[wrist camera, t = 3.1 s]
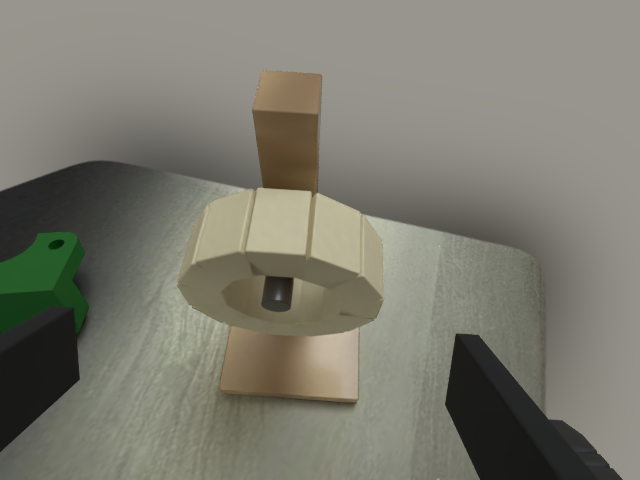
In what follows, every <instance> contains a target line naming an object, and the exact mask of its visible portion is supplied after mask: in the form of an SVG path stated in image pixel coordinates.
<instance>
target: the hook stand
mask: <svg viewBox="0 0 640 480" xmlns="http://www.w3.org/2000/svg"><path fill="white" fill-rule="evenodd" d="M321 94H322V75H321V74H312V73H297V72H282V71H267V70H263V71H262V72H261V76H260V80H259V84H258V88H257V92H256V97H255V101H254V105H253V110H252V111H253V119H254V126H255V133H256V139H257V147H258V154H259V161H260V168H261V175H262V182H263V188H270V189H284V190H299V191H310V192H311V193H312V197H313V196H314V195H315V194H316V193H318V192H317V191H318V169H319V144H320V143H319V142H320V119H321ZM293 285H294V278H291V277H277V276H265V282H264V288H263V295H262V301H261V306H262V307H263V308H264V309H266V310H269V311H273V312H285V311H288V310H290V308H291V303H292V294H293ZM219 390H220V391H221V393H228V394H241V395H255V396H269V397H282V398H296V399H309V400H323V401H336V402H350V403H357V401H358V399H359V327H358V328H356V329H354V330H351V331H349V332H347V331H345V333H338V334H329V335H321V336H312V337H309V336H307V335H306V336H305V337H300V336H286V335H272V334H266V331H265V332H263V333H259V332H255V331H251V330H247V329H243V328H239V327H235V326H231V328H230V333H229V339H228V344H227V349H226V354H225V359H224V364H223V370H222V375H221V380H220V385H219Z"/></svg>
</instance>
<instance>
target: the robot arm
mask: <svg viewBox="0 0 640 480" xmlns="http://www.w3.org/2000/svg"><path fill="white" fill-rule="evenodd" d="M79 380H80V376H79V363H78V350H77V337H76V324H75V311H74V307H60V306H51V307H49V308H47V309H46V310H44V311H42V312H40V313H38V314H37V315H35V316H33V317H31V318H29V319H28V320H26V321H24V322H22V323H20V324H19V325H17V326H15V327H13V328H11V329H10V330H8V331H6V332H4V333H2V334H1V335H0V452H1V451H2V450H3V449H4V448H5V447H6V446H7V445H8V444H10V443H11V442H12V441H13V440H14V439H15V438H16V437H17V436H18V435H19V434H21V433H22V432H23V431H24V430H25V429H26V428H27V427H28V426H29V425H30V424H31V423H33V422H34V421H35V420H36V419H37V418H38V417H39V416H40V415H41V414H42V413H43V412H45V411H46V410H47V409H48V408H49V407H50V406H51V405H52V404H53V403H54V402H56V401H57V400H58V399H59V398H60V397H61V396H62V395H63V394H64V393H65V392H66V391H68V390H69V389H70V388H71V387H72V386H73V385H74V384H75V383H76V382H77V381H79ZM445 405H446V408H447V410H448V412H449V414H450V416H451V418H452V420H453V422H454V425H455V427H456V429H457V431H458V433H459V435H460V437H461V440H462V442H463V444H464V446H465V448H466V450H467V452H468V455H469V457H470V459H471V461H472V463H473V465H474V467H475V470H476V472H477V474H478V476H479V478H480V480H622V478H621V477H620V476H619V475H618V474H617V473H616V472H615V470H614V469H612V468H610V466H609V464H608V463H607V462H606V461H605V459H604V458H603V457H602V456H601V455H600V454H597V451H596V449H594V447H593V446H592V445H591V444H590V443H589V442H588V441H587V440H586V438H585V437H584V436H583V435H582V434H580V433H579V432H578V431H576V430H575V429H573V428H572V427H570V426H569V425H568V424H566V423H565V422H563V421H562V420H548V419H547V417H546V416H545V415H544V414H543V412H542V411H541V410H540V409H539V408H538V406H537V405H536V404H535V403H534V402H533V400H532V399H531V398H530V397H529V396H528V394H527V393H526V392H525V391H524V390H523V388H522V387H521V386H520V385H519V384H518V382H517V381H516V380H515V379H514V377H513V376H512V375H511V374H510V373H509V371H508V370H507V369H506V368H505V367H504V365H503V364H502V363H501V362H500V361H499V359H498V358H497V357H496V356H495V355H494V353H493V352H492V351H491V350H490V349H489V347H488V346H487V345H486V344H485V342H484V341H483V340H482V339H481V338H480V336H479V335H471V334H456V336H455V343H454V349H453V356H452V363H451V369H450V376H449V382H448V389H447V396H446V402H445Z"/></svg>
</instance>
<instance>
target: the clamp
mask: <svg viewBox="0 0 640 480" xmlns="http://www.w3.org/2000/svg"><path fill="white" fill-rule="evenodd" d="M84 254H85V251H84V248H83V247H82V245H81V243H80V242H79V240H78V238H77V236H76V235H75V234H73V233H70V232H56V233H38V236H37V238H36V240H35V242H34V243H33V244H32V245H31V246H30V247H29V248H28V249H27V250H26V251H24V252H23V253H21V254H20V255H18V256H16V257H14V258H12V259H10V260H7V261H4V262H1V263H0V335H1V334H2V333H4V332H6V331H8V330H10V329H11V328H13V327H15V326H17V325H19V324H20V323H22V322H24V321H26V320H28V319H29V318H31V317H33V316H35V315H37V314H38V313H40V312H42V311H44V310H46V309H47V308H49V307H51V306H60V307H74V311H75V324H76V335H77V334H78V333H79V331H80V329H81V326H82V324H83V321H84V319H85V316H86V314H87V311H88V309H89V306H88V304H87V302H86V300H85V299H84V297H83V296H82V294H81V293H80V291H79V290H78V288H77V287H76V285H75V284H74V282H73V281H72V280H73V278H74V275H75V273H76V271H77V269H78V267H79V265H80V263H81V261H82V259H83V256H84Z"/></svg>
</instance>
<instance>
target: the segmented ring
mask: <svg viewBox="0 0 640 480" xmlns="http://www.w3.org/2000/svg"><path fill="white" fill-rule="evenodd" d="M265 276H277V277H291V278H294V285H293V294H292V303H291V308H290V310H288V311H285V312H273V311H269V310H266V309H264V308H263V307H262V306H261V301H262V295H263V288H264V282H265ZM177 286H178V288H179V289H180V291H181V292H182V294H183V296H184V297H185V299H186V300H187V302H188V303H189V305H192V308H194V309H196V310H198V311H200V312H202V313H204V314H206V315H208V316H209V317H211V318H213V319H215V320H217V321H219V322H221V323H223V322H225V324H228V325H231V326H235V327H239V328H243V329H247V330H251V331H255V332H259V333H263V332H265V331H266V334H272V335H286V336H300V337H305V336H306V335H307V336H309V337H312V336H321V335H329V334H338V333H345V331H347V332H349V331H351V330H354V329H356V328H358V327H360V326H363V325H365V324H367V323H369V322H372V321H374V318H377V315H378V313H379V310H380V308H381V306H382V303H383V301H384V282H383V244H382V239H381V238H380V237H379V235H378V234H377V232H376V231H375V230H374V228H373V227H372V225H371V224H370V223H369V221H368V220H367V218H366V217H365V216H364V215H360V212H359V211H357V210H355V209H353V208H350V207H348V206H346V205H344V204H341V203H339V202H337V201H334V200H332V199H330V198H328V197H326V196H323V195H321V194H319V193H316V194H315V195H314V196H313V197H312V193H311V192H310V191H299V190H284V189H270V188H257V192H255V191H254V190H253V189H248V190H245V191H242V192H239V193H236V194H233V195H230V196H227V197H224V198H221V199H218V200H215V201H212V202H211V204H208V205H207V206H206V207H205V209H204V211H203V212H202V214H201V215H200V217H199V218H198V220H197V222H196V223H195V225H194V226H193V229H192V233H191V236H190V239H189V243H188V246H187V250H186V253H185V257H184V260H183V264H182V267H181V271H180V274H179V278H178V284H177Z"/></svg>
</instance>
